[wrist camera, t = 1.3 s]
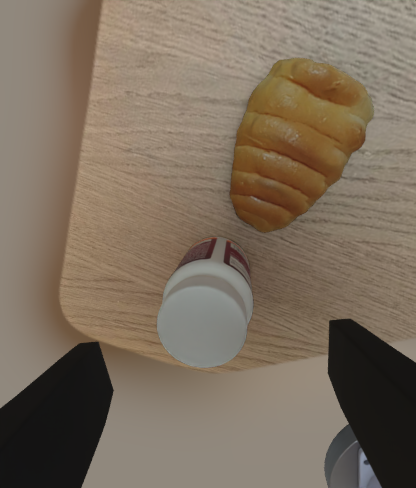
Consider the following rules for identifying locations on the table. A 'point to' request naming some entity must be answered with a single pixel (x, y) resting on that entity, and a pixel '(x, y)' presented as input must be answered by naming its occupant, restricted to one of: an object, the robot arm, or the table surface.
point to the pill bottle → (207, 304)
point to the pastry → (295, 140)
